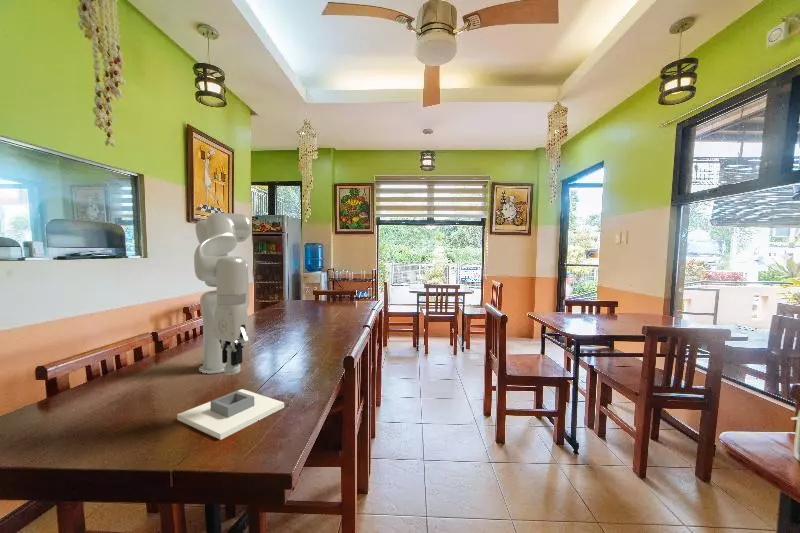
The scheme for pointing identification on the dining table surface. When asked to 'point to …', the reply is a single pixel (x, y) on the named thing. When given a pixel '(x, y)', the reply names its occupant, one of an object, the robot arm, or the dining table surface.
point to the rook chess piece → (229, 368)
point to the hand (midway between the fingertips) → (232, 362)
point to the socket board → (230, 413)
